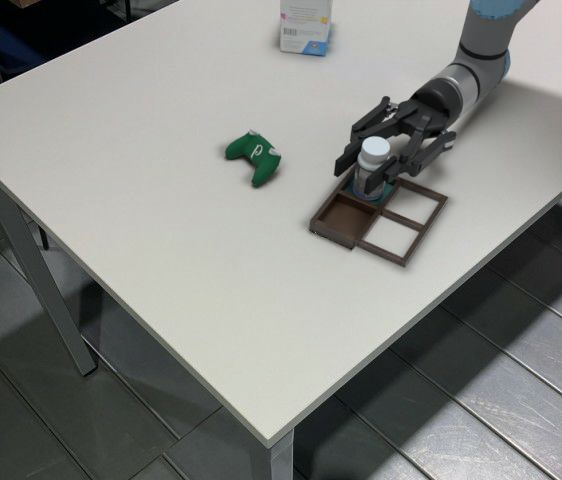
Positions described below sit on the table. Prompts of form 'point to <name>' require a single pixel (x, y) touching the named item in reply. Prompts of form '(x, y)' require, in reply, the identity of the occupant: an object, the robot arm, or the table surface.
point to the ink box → (305, 26)
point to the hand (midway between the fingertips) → (351, 177)
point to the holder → (369, 216)
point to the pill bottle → (370, 166)
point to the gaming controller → (256, 154)
